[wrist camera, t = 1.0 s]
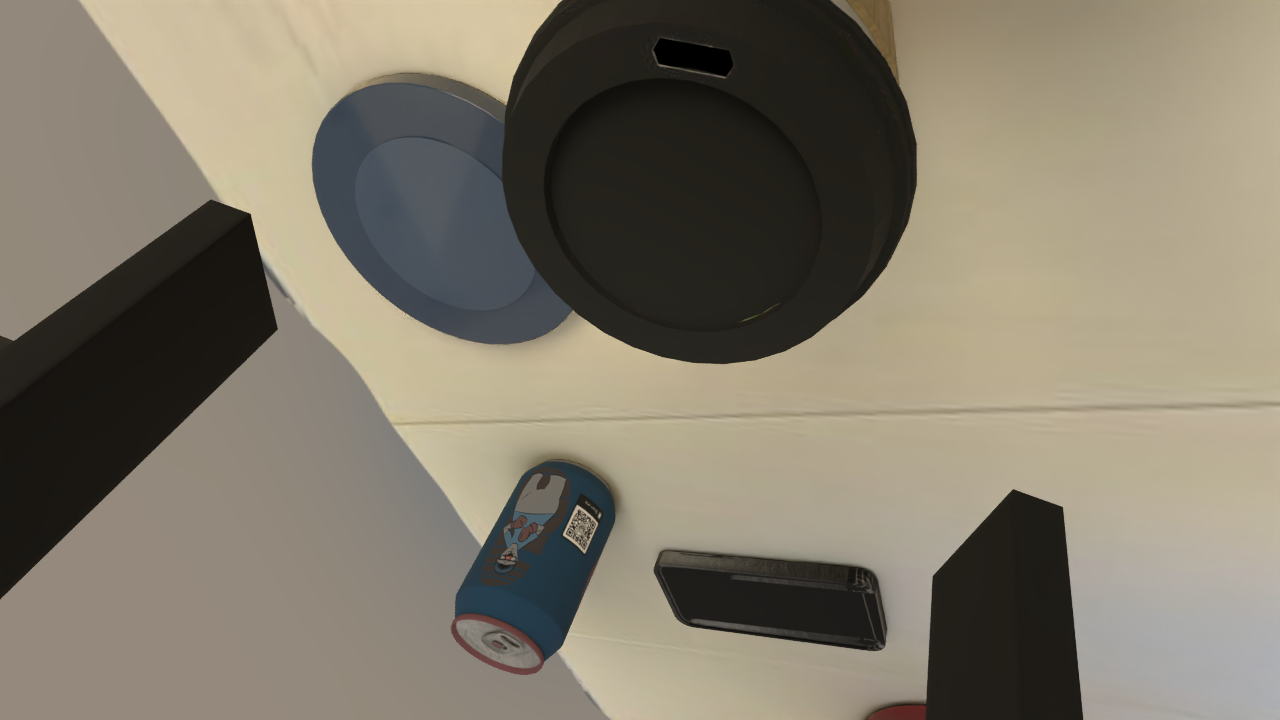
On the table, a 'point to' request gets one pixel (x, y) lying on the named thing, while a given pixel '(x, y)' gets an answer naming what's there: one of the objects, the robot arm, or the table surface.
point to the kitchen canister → (900, 713)
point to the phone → (774, 599)
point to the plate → (430, 207)
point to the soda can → (534, 567)
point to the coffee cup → (710, 167)
